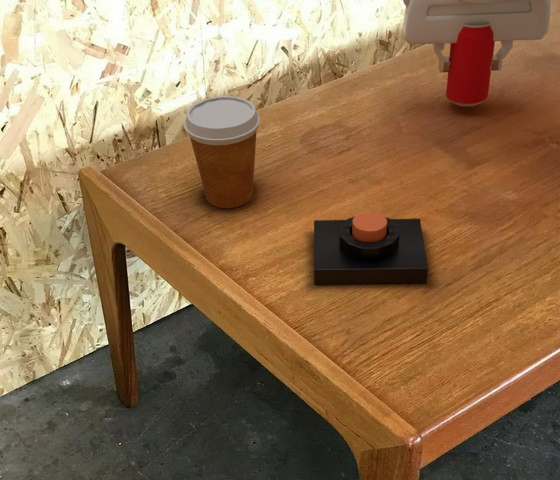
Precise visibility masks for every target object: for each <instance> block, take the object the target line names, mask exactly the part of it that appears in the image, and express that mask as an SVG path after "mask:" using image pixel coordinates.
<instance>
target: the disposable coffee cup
mask: <svg viewBox="0 0 560 480" xmlns="http://www.w3.org/2000/svg"><path fill="white" fill-rule="evenodd" d="M183 122H184V123H183V127H184V130H185V132H186V134H187V135H188V136H189V139H190V142H191V147H192V151H193V154H194V157H195V161H196V165H197V169H198V173H199V176H200V180H201V184H202V187H203V191H204V194H205V199H206V201H207V203H209V204H210V205H212V206H214V207H216V208H221V209H233V208H239V207H241V206H244V205H246V204H247V203H248V202H250V201H251V200H252V198H253V196H254V193H253V192H254V176H255V164H256V163H255V161H256V147H257V146H256V145H257V131H258V130H259V129H258V128H259V126H260V123H261V118H260V115H259V112H257V110H256V107H255V105H254V104H253V103H252V101H250V100H248V99H246V98H243V97H239V96H233V95H219V96H212V97H208V98H204V99H201V100H199V101H196V102H194V103H193V104H192V105H191V106H189V108H188V109H187V112H186V117H185V119H184V121H183Z"/></svg>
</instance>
